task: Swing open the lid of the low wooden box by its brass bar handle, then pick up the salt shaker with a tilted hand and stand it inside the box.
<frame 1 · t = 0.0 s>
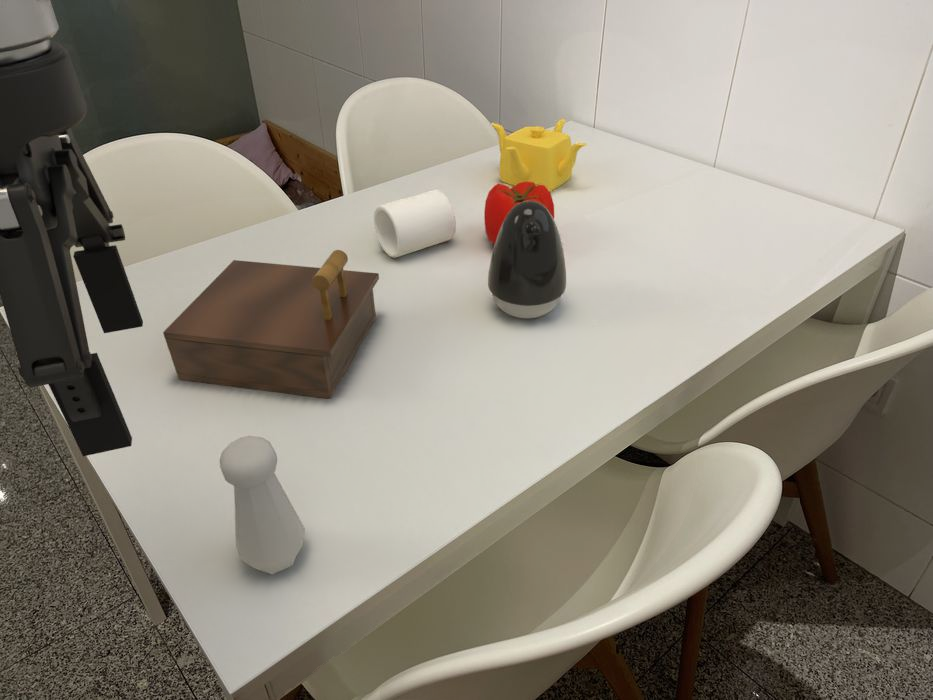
hand: (116, 381, 47), 22 cm above the table, tool pointing down, fingers open, 13 cm apart
black tumbler egg: (526, 309, 94), on the table
wooden box: (283, 346, 88), on the table
teapot: (535, 180, 129), on the table
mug: (409, 243, 110), on the table
salt shaker: (276, 556, 62), on the table
tomato: (518, 243, 109), on the table
lid: (273, 282, 82), point 9 cm above the table, hinge at 0.0°
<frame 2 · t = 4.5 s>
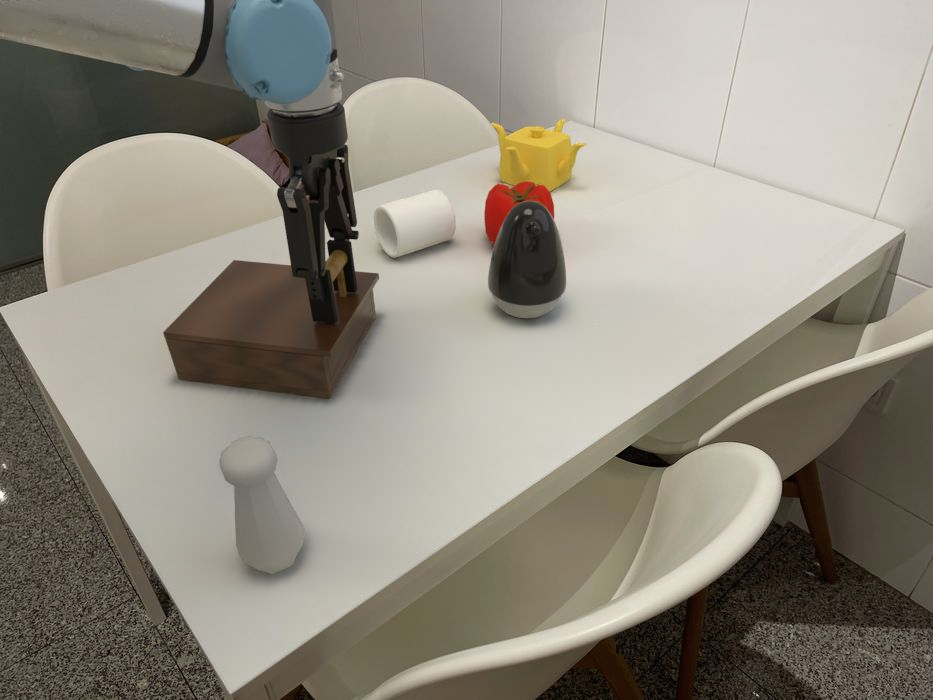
hand: (335, 304, 82), 7 cm above the table, tool pointing down, fingers closed on lid, 6 cm apart
lid: (273, 282, 82), point 9 cm above the table, hinge at 0.0°, touching gripper
everything else where it was.
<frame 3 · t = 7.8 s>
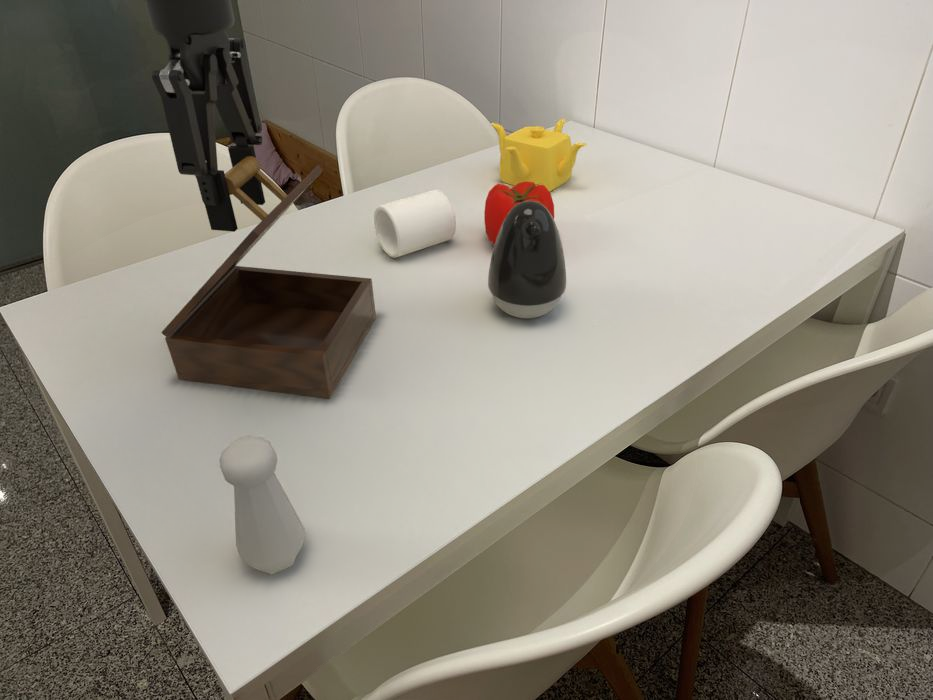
hand: (239, 215, 77), 18 cm above the table, tool pointing down, fingers closed on lid, 6 cm apart
lid: (222, 231, 79), point 16 cm above the table, hinge at 44.4°, touching gripper
everything else where it was.
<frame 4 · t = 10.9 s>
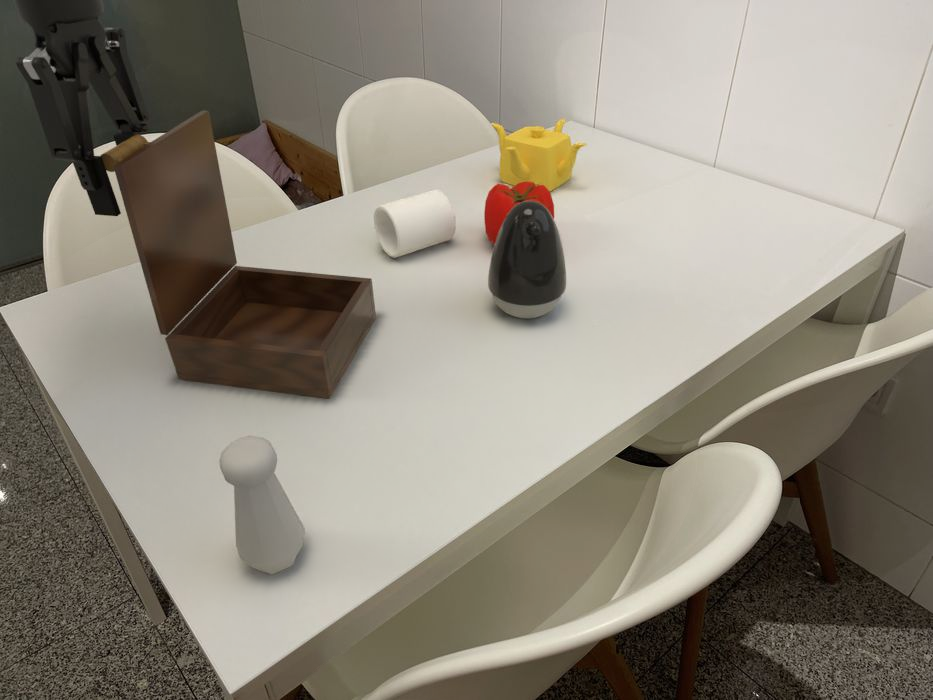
hand: (126, 201, 79), 18 cm above the table, tool pointing down, fingers closed on lid, 6 cm apart
lid: (160, 218, 80), point 17 cm above the table, hinge at 86.8°, touching gripper
everything else where it was.
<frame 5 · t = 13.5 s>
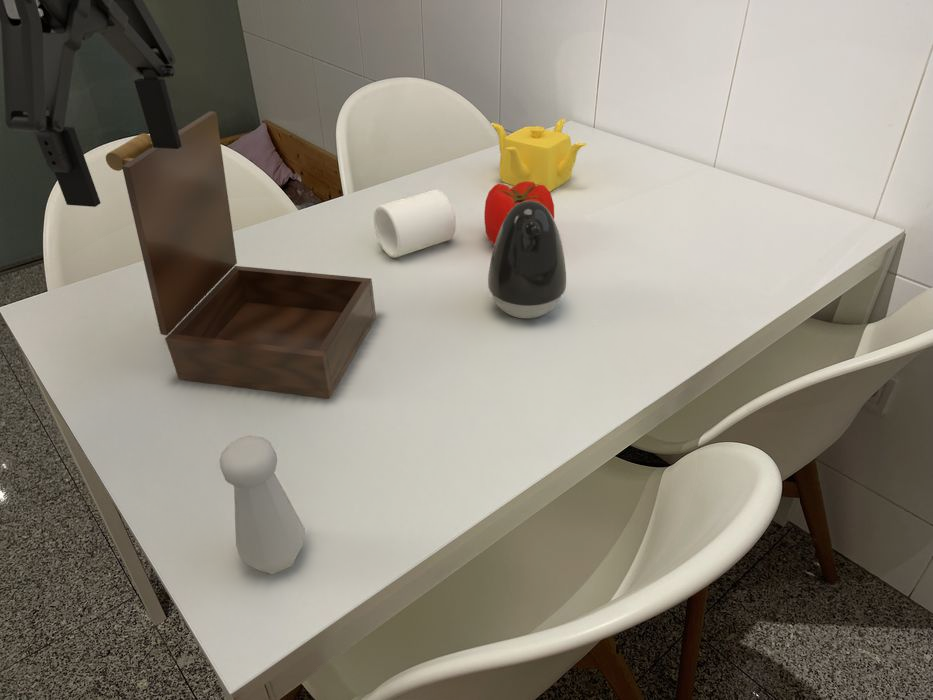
hand: (129, 173, 65), 27 cm above the table, tool pointing down, fingers open, 13 cm apart
lid: (164, 218, 80), point 17 cm above the table, hinge at 84.1°
everything else where it was.
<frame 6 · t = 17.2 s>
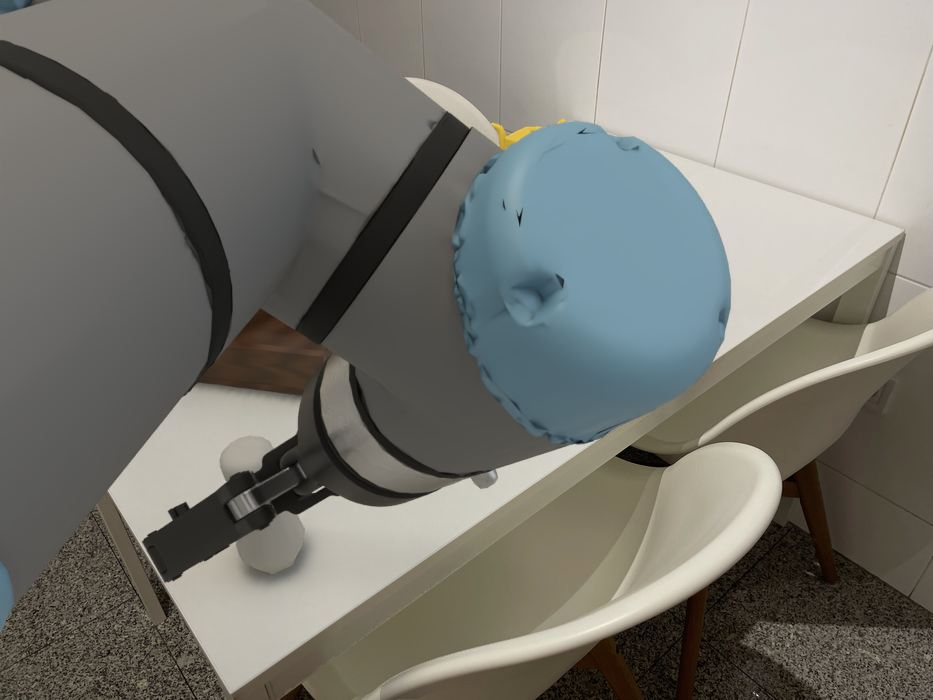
hand: (293, 483, 47), 16 cm above the table, tool tilted 40°, fingers open, 13 cm apart
lid: (165, 217, 80), point 17 cm above the table, hinge at 83.2°
everything else where it was.
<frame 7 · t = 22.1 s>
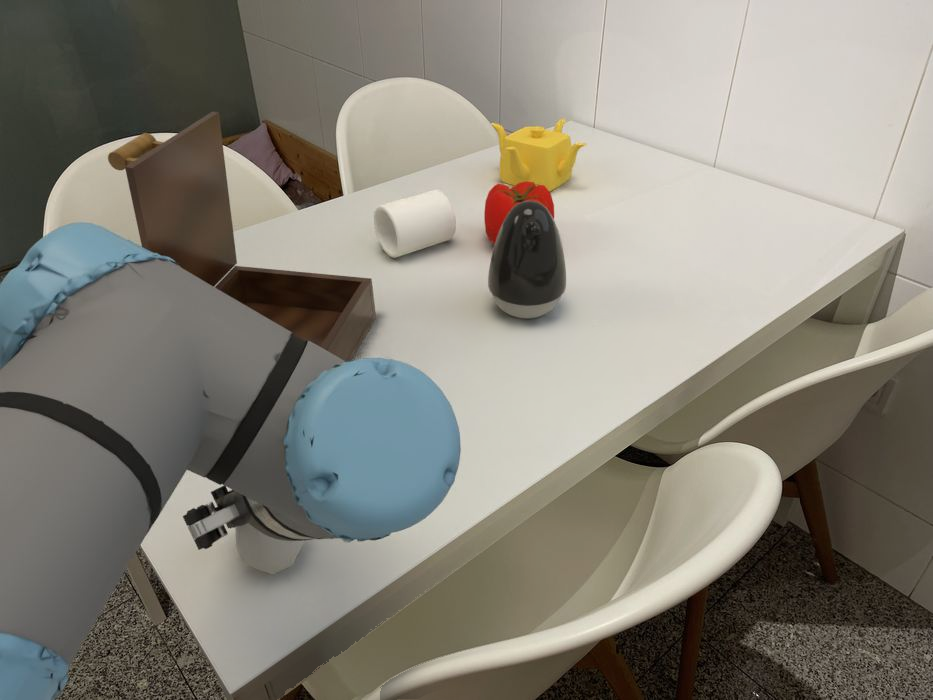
hand: (248, 499, 62), 4 cm above the table, tool tilted 45°, fingers closed on salt shaker, 3 cm apart
salt shaker: (276, 556, 62), on the table, touching gripper
everything else where it was.
when the fingers open (5 cm above the table, at t = 32.4 s): salt shaker stays where it is, resting on wooden box.
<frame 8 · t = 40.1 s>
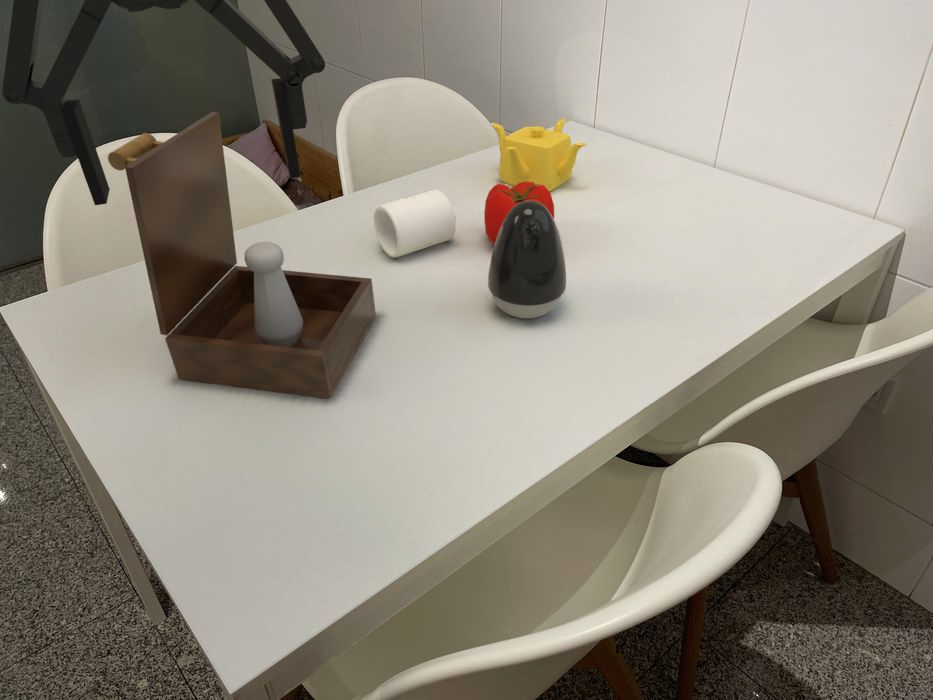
hand: (201, 184, 52), 31 cm above the table, tool pointing down, fingers open, 13 cm apart
salt shaker: (282, 341, 87), point 1 cm above the table, touching wooden box
everything else where it was.
at the end: lid at +83° (first picture: +0°); salt shaker inside the target area in the wooden box (0.1 cm from its centre), point 0.8 cm above the wooden box's base; salt shaker tilted 0° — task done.
